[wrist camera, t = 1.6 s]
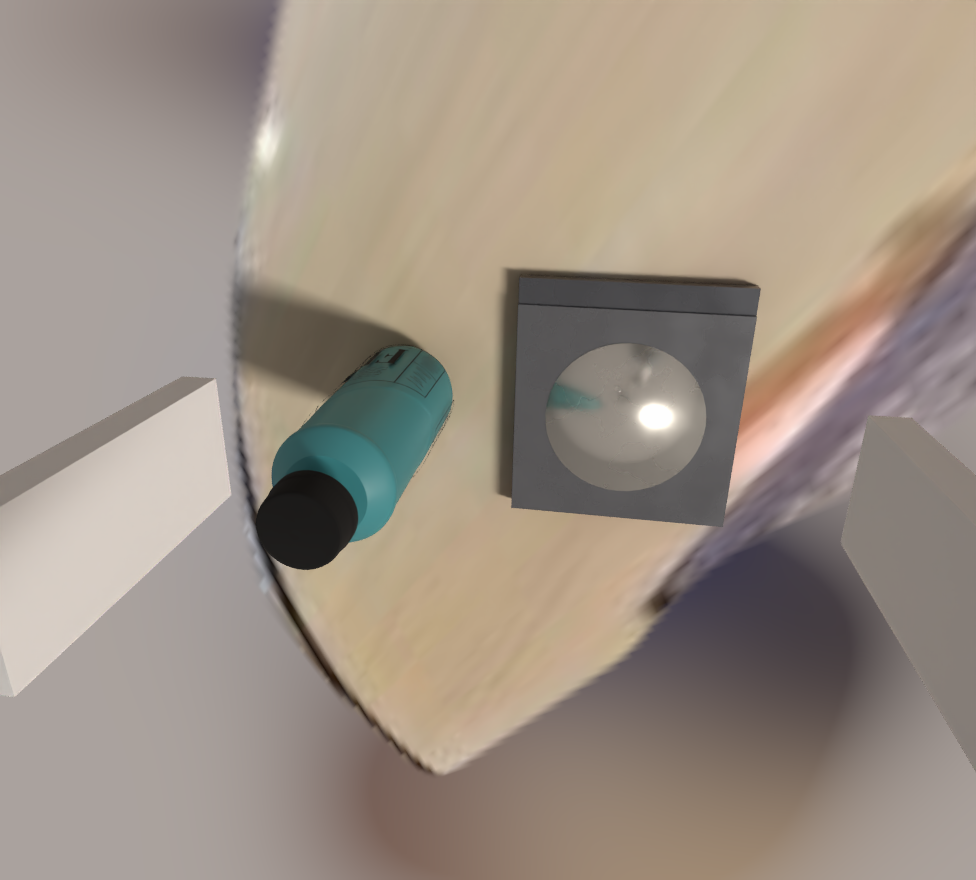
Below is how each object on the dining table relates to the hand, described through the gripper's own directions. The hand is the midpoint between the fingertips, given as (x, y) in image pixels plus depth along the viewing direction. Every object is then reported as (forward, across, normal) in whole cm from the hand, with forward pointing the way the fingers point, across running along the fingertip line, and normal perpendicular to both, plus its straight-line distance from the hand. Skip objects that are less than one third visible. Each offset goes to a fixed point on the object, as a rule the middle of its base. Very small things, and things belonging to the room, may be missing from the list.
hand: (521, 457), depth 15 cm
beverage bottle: (+32, -10, -9) cm, 35 cm away
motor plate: (+32, +4, -10) cm, 34 cm away
